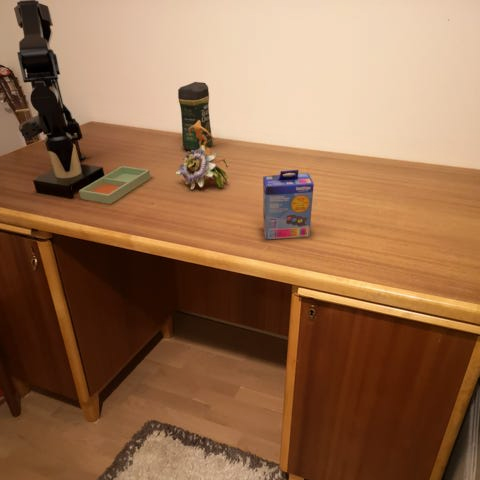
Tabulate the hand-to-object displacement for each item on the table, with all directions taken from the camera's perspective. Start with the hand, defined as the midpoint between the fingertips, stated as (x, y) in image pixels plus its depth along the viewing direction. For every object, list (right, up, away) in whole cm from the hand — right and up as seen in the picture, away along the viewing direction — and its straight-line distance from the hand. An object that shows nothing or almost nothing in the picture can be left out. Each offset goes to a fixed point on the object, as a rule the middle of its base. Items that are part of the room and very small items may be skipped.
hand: (66, 166), depth 123 cm
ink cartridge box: (+56, -22, -23) cm, 64 cm away
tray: (+13, -5, +1) cm, 14 cm away
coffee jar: (+33, +14, +24) cm, 43 cm away
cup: (0, -1, +1) cm, 2 cm away
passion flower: (+37, -5, +1) cm, 37 cm away
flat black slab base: (0, -4, +3) cm, 5 cm away
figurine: (+36, +6, +14) cm, 39 cm away
